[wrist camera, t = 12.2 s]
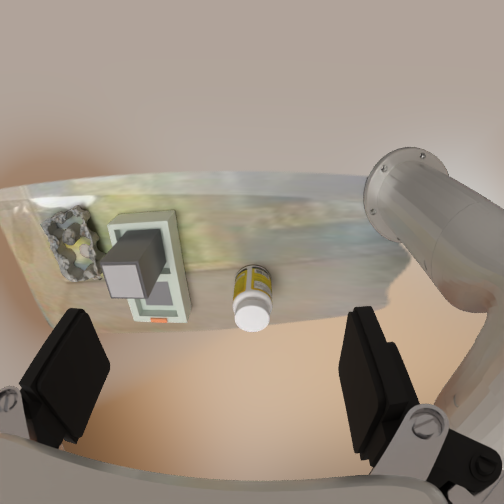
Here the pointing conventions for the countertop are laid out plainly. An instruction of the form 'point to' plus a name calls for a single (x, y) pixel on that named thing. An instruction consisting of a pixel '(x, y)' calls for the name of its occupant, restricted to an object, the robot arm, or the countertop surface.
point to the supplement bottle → (252, 298)
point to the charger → (134, 264)
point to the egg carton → (70, 237)
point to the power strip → (172, 276)
